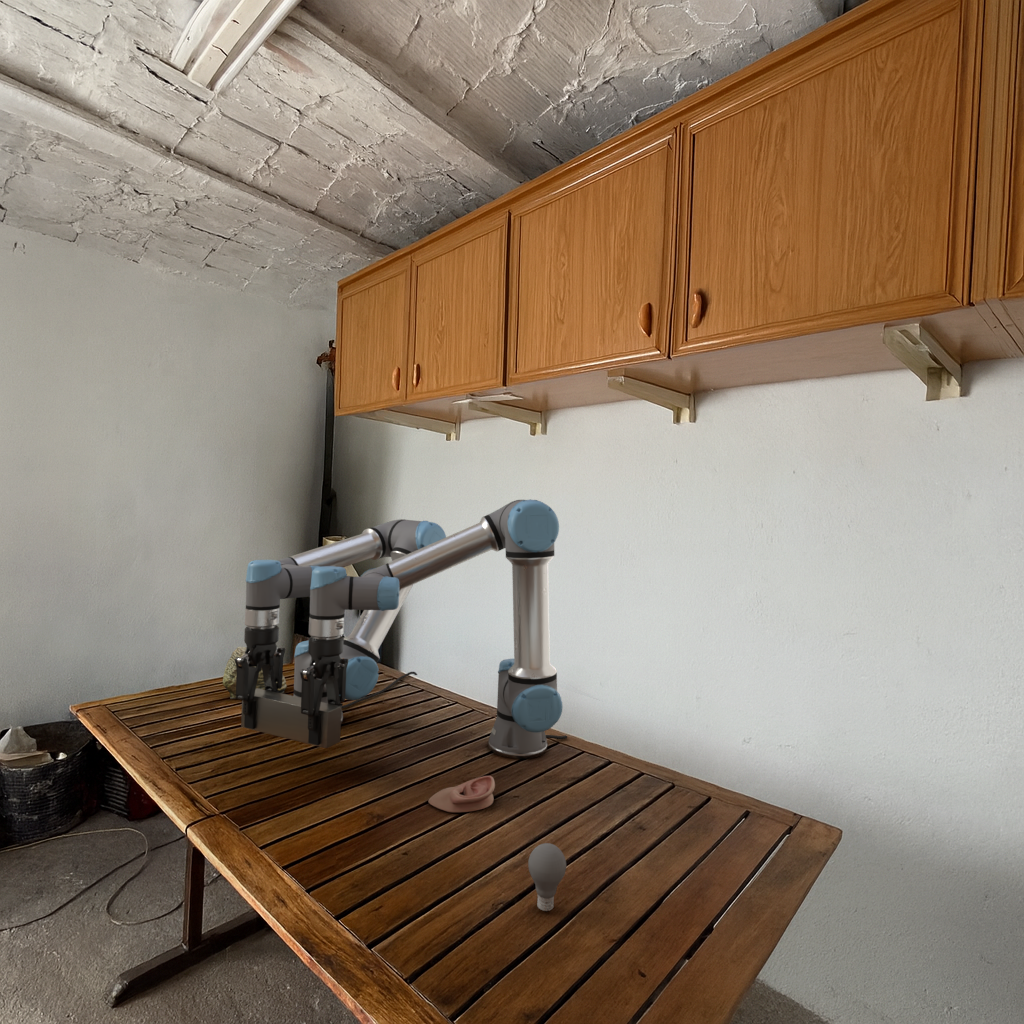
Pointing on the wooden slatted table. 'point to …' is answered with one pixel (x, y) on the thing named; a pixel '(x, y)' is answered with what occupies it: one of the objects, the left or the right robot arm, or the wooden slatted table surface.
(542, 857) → the light bulb
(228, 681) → the fossil
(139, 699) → the wooden slatted table surface
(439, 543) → the right robot arm
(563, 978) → the wooden slatted table surface
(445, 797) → the anatomical model
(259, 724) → the bar
